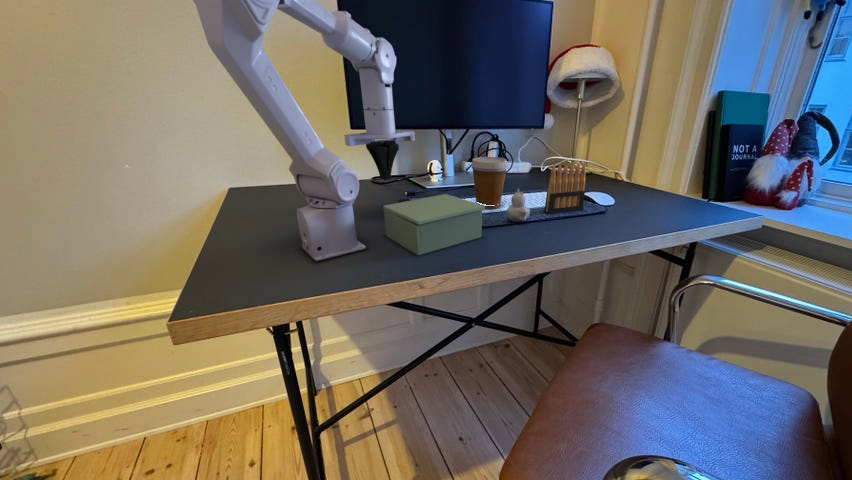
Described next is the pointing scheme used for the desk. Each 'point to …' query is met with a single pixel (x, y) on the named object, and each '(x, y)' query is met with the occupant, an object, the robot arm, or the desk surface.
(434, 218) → the box lid
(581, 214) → the desk surface
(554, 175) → the ammunition clip
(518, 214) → the grey gourd
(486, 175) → the disposable coffee cup
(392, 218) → the box
